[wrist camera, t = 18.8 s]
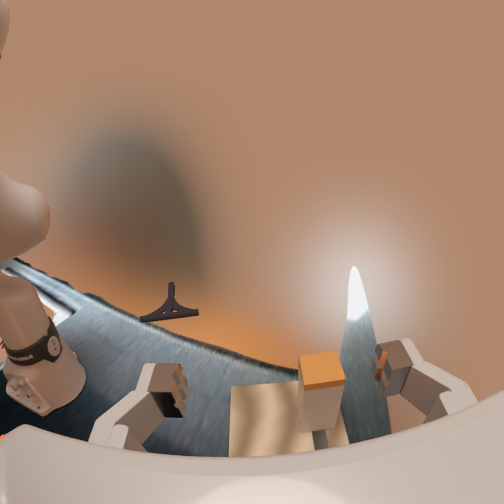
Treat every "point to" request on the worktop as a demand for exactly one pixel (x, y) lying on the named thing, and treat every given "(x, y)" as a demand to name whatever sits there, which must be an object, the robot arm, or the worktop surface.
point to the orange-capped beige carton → (319, 390)
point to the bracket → (170, 309)
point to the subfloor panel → (274, 423)
